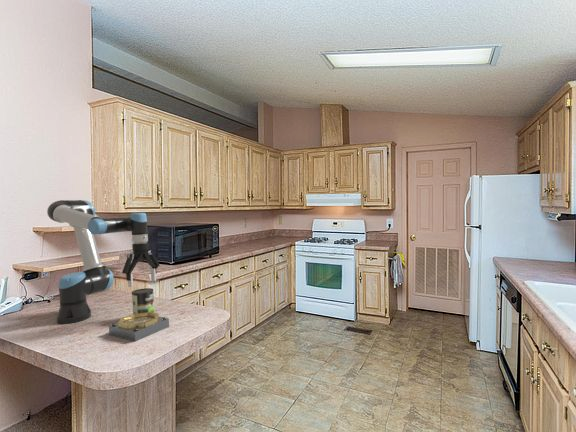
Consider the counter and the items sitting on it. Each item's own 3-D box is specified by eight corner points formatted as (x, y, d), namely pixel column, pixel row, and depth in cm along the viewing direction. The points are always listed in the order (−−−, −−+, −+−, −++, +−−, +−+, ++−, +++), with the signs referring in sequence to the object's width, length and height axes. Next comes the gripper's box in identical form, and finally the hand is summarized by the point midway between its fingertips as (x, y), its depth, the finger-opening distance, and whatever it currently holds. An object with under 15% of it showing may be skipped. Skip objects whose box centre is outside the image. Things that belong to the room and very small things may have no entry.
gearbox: (109, 334, 146) (108, 321, 146) (143, 321, 162) (143, 309, 162) (135, 341, 138) (134, 327, 138) (169, 326, 154) (168, 314, 153)
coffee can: (158, 314, 172) (157, 288, 172) (146, 321, 162) (145, 293, 161) (141, 313, 174) (140, 287, 174) (128, 320, 164) (127, 293, 164)
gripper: (122, 245, 154) (125, 290, 155) (164, 240, 176) (167, 278, 177) (112, 245, 158) (115, 289, 158) (155, 239, 179) (157, 278, 180)
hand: (142, 283), depth 167 cm, fingers open, 13 cm apart
